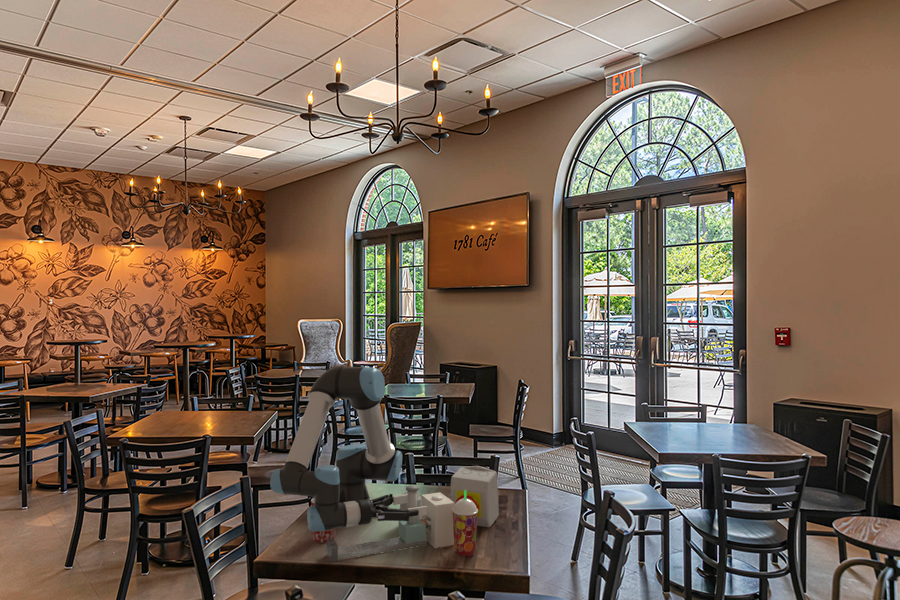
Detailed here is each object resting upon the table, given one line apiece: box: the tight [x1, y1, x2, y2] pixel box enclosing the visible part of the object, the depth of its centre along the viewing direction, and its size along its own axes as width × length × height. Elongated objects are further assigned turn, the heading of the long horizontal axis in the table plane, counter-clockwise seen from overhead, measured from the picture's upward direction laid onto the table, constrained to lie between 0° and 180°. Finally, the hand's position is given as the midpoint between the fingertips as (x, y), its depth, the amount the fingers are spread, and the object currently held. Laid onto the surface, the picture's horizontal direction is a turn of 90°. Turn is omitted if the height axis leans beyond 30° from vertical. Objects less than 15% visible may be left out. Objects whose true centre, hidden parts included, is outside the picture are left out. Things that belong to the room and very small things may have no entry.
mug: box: [310, 497, 336, 544], centre depth 204 cm, size 13×9×14 cm
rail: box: [326, 536, 428, 563], centre depth 193 cm, size 6×32×5 cm, turn 115°
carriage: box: [397, 484, 426, 543], centre depth 198 cm, size 7×7×17 cm
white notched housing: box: [420, 491, 455, 549], centre depth 202 cm, size 12×7×15 cm, turn 25°
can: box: [399, 491, 421, 520], centre depth 214 cm, size 8×8×12 cm
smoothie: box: [452, 490, 478, 557], centre depth 192 cm, size 8×8×20 cm
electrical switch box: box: [450, 465, 500, 528], centre depth 217 cm, size 15×15×20 cm
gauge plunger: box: [421, 519, 431, 528], centre depth 201 cm, size 4×9×4 cm, turn 115°
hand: (418, 504), depth 199 cm, fingers open, 13 cm apart
